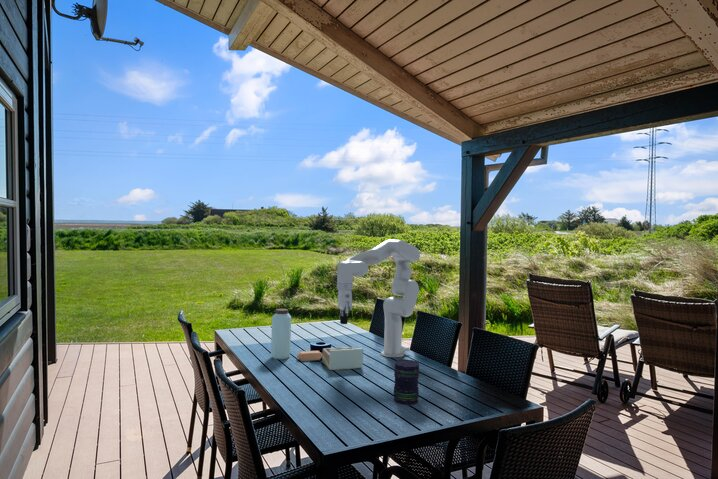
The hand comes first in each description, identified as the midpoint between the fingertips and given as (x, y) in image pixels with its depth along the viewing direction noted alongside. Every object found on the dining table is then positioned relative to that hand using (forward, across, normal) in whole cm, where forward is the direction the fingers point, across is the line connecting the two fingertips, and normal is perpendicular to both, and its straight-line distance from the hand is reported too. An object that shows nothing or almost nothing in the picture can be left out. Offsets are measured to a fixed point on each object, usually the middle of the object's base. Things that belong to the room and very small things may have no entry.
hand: (343, 323), depth 221 cm
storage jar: (+21, -51, -11) cm, 56 cm away
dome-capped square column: (+21, +16, +13) cm, 30 cm away
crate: (+21, +2, 0) cm, 21 cm away
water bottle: (+21, +23, +27) cm, 41 cm away
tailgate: (+20, -6, 0) cm, 21 cm away
